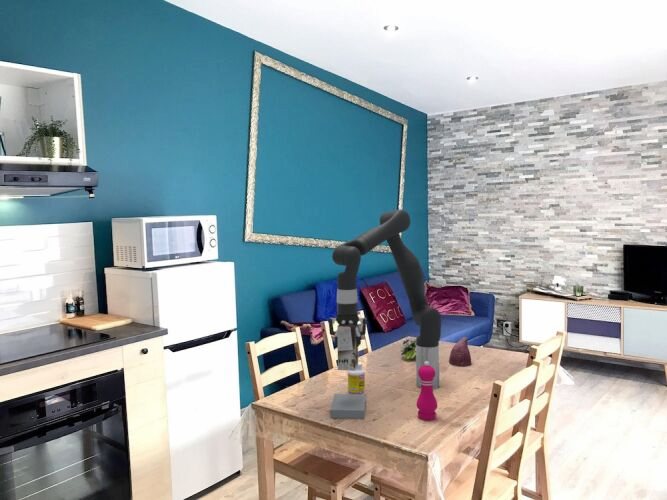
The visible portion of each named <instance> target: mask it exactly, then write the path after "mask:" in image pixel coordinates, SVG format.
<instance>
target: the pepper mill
mask: <svg viewBox="0 0 667 500" xmlns="http://www.w3.org/2000/svg"><path fill="white" fill-rule="evenodd" d="M418 375H419V377H420V384H421V388H420V393H419V395H418V396H417V399H416V407H417V409H418V410H417V417H418V419H420V420H423V421H433V420H435V419H436V418H437V412H436V410H437V408H438V402H437V401H438V400H437V399H436V396H435V393H434V390H433V389H434V388H433V384H434V379H433V378H434V377H435V369H434V368H433V367H432V366H429V362H428V361H425V362H424V366H421V367H420V368H419V370H418Z"/></svg>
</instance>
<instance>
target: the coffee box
mask: <svg viewBox="0 0 667 500" xmlns="http://www.w3.org/2000/svg"><path fill="white" fill-rule="evenodd" d="M358 324H359V322H358V323H357V324H354V325H350V324H344V325H339V324H338V325H337V329H336V331H337V338H338V339H337V340H338V347H337V370H338V371H347V372H348V371H355V369H356V367H357V365H358V361H359V347H357V334H356V328H357V327H358V326H359V325H358ZM358 328H359V327H358Z"/></svg>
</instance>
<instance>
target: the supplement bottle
mask: <svg viewBox="0 0 667 500" xmlns="http://www.w3.org/2000/svg"><path fill="white" fill-rule="evenodd" d="M365 374H366V373H365V370H364V368H363V363H362V361H359V360H358V365H357V367H356V369H355V371H347V394H366V393H365V391H366V390H365V389H366V388H365V387H366V380H365V378H366V377H365Z"/></svg>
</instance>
